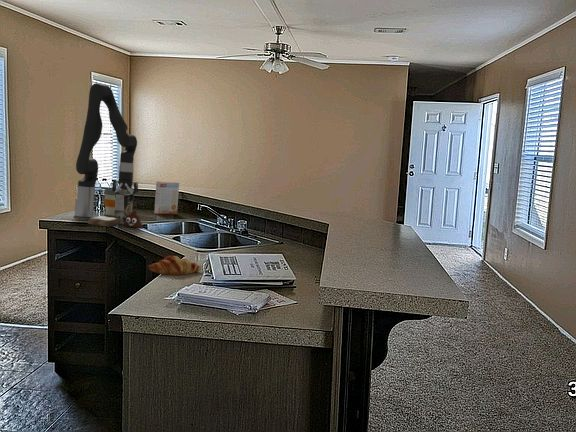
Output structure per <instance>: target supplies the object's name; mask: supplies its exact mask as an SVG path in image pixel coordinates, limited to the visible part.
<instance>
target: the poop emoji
mask: <svg viewBox="0 0 576 432" xmlns="http://www.w3.org/2000/svg"><path fill="white" fill-rule="evenodd" d="M141 221H142V220H141V219H140V215H139V214H138V212H137V209H135V210H134V209H133V210H132V212H131V214H130V215H129V216H128V217H127V218H126V221H125V222H124V224H123V226H124V227H125V228H134V229H141V228H143V223H142V222H141Z"/></svg>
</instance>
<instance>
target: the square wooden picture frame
mask: <svg viewBox="0 0 576 432" xmlns="http://www.w3.org/2000/svg"><path fill="white" fill-rule="evenodd" d="M87 225H95V226H101V227H107V228H108V227H109V228H110V227H113V226H118V225H121V224H120V219H118V218H114V217H113V216H112V217H109V216H104V215H100V216H99V215H98V216H93V217H87Z"/></svg>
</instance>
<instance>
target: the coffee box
mask: <svg viewBox="0 0 576 432" xmlns="http://www.w3.org/2000/svg"><path fill="white" fill-rule="evenodd" d="M130 194H131V193H130ZM130 194H129V193H126V194H116V199H115V212H114V216H113V218H118V219H120V224H119V225H124V222H125V221H126V218H127V217H128V216H129V215H130V214H131V212H132V211H133V202H134V200H133V201H130Z"/></svg>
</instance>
